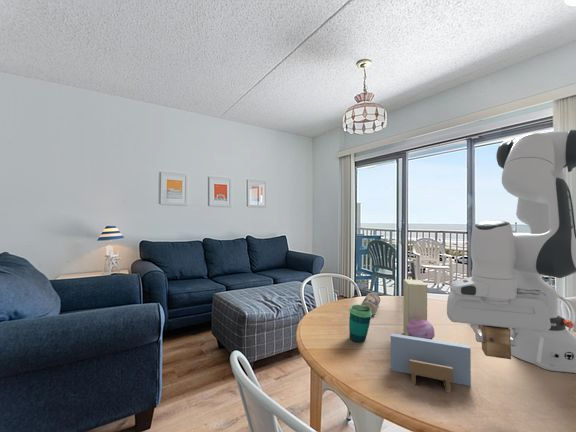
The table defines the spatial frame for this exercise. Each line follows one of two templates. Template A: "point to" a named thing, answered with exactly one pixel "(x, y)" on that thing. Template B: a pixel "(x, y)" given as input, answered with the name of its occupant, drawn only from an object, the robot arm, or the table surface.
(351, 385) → the table surface
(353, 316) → the cup
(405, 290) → the toy refrigerator
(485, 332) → the tan wooden cube
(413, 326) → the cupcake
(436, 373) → the wall board
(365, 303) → the decorative bottle
